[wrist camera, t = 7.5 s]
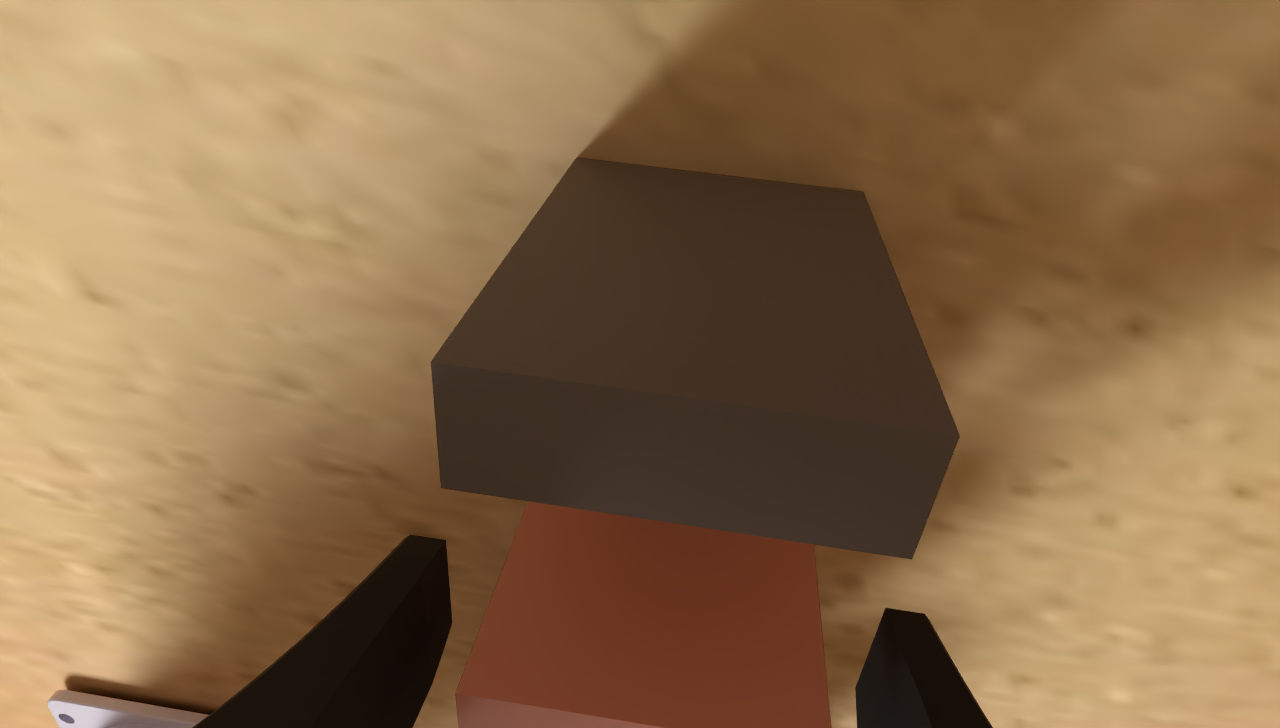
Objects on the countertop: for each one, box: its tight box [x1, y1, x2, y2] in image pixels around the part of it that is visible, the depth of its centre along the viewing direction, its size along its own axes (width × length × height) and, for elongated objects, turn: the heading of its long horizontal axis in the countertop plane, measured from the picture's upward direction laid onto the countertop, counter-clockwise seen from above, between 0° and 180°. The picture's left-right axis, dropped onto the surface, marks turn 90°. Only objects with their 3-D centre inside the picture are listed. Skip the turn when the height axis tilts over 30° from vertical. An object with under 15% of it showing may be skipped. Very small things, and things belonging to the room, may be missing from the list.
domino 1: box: [431, 158, 960, 559], centre depth 10 cm, size 2×5×7 cm, turn 85°
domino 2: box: [455, 501, 831, 728], centre depth 13 cm, size 2×5×7 cm, turn 86°
